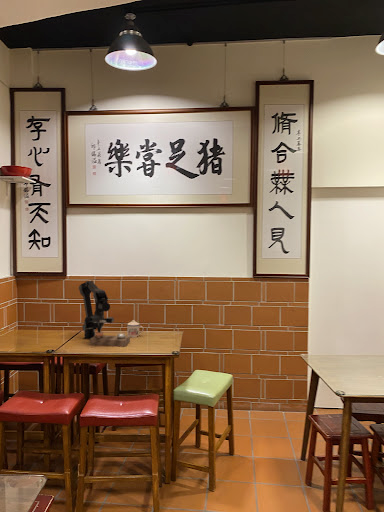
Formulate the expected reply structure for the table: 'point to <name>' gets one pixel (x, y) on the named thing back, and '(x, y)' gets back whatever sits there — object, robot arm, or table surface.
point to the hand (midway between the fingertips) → (99, 332)
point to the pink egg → (99, 334)
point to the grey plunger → (121, 336)
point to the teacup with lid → (133, 329)
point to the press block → (109, 341)
